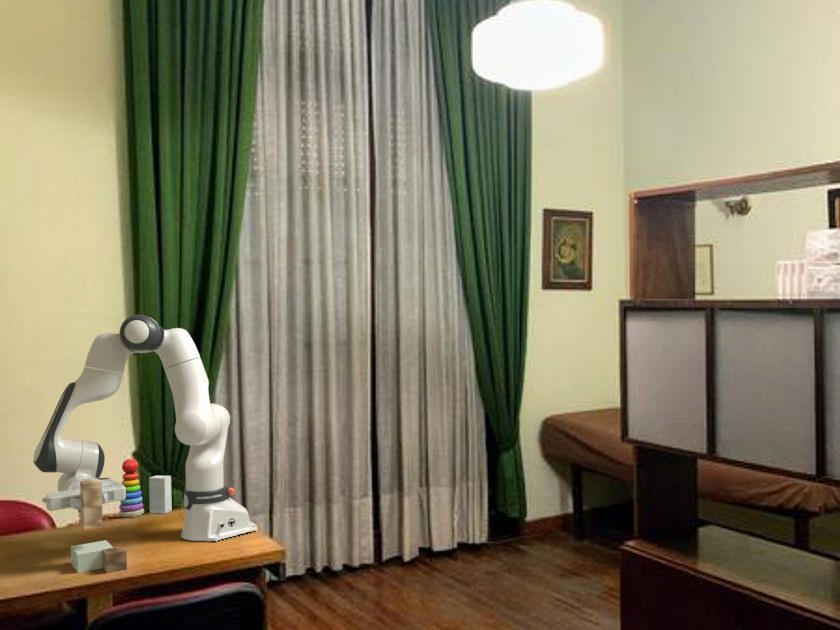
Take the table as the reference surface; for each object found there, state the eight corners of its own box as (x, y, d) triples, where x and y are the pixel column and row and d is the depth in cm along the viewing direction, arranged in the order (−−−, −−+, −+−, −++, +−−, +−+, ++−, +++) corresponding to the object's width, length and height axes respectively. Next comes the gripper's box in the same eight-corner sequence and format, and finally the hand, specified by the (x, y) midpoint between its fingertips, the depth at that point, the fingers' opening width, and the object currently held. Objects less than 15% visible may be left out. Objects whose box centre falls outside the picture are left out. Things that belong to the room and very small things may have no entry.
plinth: (106, 558, 213) (106, 540, 213) (114, 566, 205) (113, 548, 205) (71, 564, 208) (70, 546, 208) (77, 573, 200) (77, 554, 200)
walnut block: (122, 564, 206) (121, 546, 206) (126, 569, 202) (126, 550, 202) (102, 568, 204) (102, 549, 204) (106, 573, 199) (106, 554, 199)
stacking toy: (148, 512, 261) (147, 456, 261) (137, 518, 253) (136, 461, 253) (126, 511, 262) (125, 456, 262) (114, 518, 254) (113, 461, 254)
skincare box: (172, 510, 262) (171, 475, 262) (165, 514, 258) (164, 478, 258) (156, 509, 264) (155, 475, 264) (149, 513, 260) (148, 477, 260)
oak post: (98, 522, 210) (97, 478, 210) (102, 526, 206) (101, 481, 206) (81, 525, 207) (80, 481, 207) (84, 529, 203) (83, 484, 203)
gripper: (40, 487, 211) (49, 496, 200) (118, 476, 223) (130, 485, 212) (40, 510, 211) (49, 520, 200) (118, 498, 223) (131, 508, 212)
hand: (92, 502), depth 206 cm, fingers closed on oak post, 4 cm apart
